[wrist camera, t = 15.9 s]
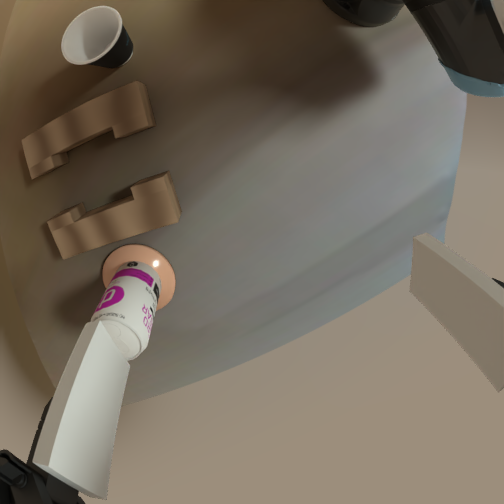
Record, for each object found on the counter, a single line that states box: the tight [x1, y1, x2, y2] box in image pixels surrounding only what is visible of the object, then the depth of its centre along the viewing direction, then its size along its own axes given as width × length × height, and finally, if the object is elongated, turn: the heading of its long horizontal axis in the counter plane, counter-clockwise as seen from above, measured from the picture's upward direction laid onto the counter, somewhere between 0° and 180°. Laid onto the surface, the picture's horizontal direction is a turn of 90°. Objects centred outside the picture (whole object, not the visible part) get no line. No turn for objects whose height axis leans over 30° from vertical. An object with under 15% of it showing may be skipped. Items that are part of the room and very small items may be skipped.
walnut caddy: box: [21, 81, 182, 259], centre depth 35 cm, size 20×20×5 cm
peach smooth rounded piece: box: [103, 244, 176, 310], centre depth 45 cm, size 13×13×1 cm
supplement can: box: [91, 261, 162, 361], centre depth 38 cm, size 8×8×15 cm
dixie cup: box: [61, 6, 133, 68], centre depth 25 cm, size 8×8×11 cm
